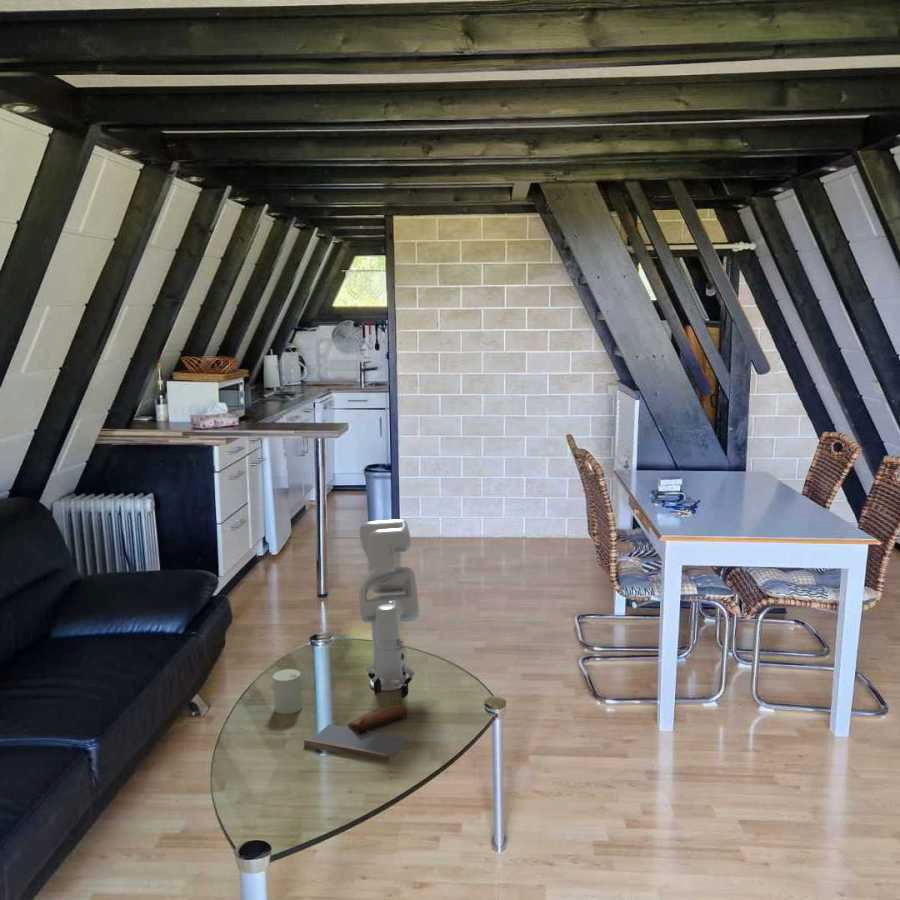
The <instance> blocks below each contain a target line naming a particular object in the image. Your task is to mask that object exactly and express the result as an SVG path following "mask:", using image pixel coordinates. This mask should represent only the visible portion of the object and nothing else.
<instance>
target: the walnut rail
mask: <svg viewBox="0 0 900 900" xmlns="http://www.w3.org/2000/svg"><path fill="white" fill-rule="evenodd" d="M303 746H304V747H306V748H311V749H316V750H321V751H328V752H330V753H331V752H332V753H336V754H342V755H347V756H352V757H357V758H358V757H359V758H364V759H369V760H373V761H377V762H378V761H379V762H384V763H389V762H390V761H391V759H390V756H389V754H388V753H382V752H377V751H372V750H366V749H361V748H356V747H350V746H345V745H340V744H334V743H329V742H324V741H318V740H313V738H307V737H306V738H304V739H303Z"/></svg>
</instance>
